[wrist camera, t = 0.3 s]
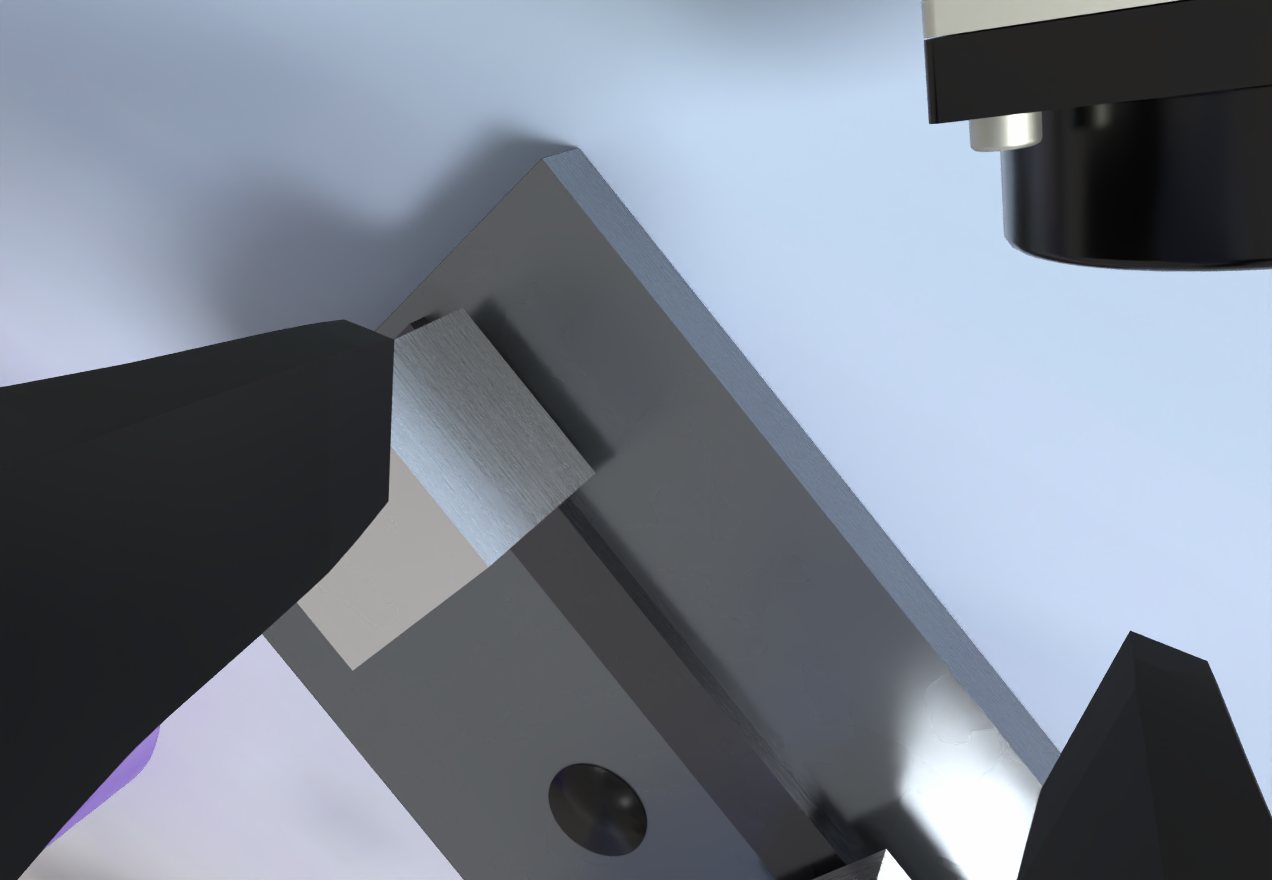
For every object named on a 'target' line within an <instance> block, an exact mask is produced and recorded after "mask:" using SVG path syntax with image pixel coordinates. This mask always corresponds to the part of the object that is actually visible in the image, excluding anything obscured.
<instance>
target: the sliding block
mask: <svg viewBox="0 0 1272 880" xmlns="http://www.w3.org/2000/svg"><path fill="white" fill-rule="evenodd" d="M812 880H911V879H910V878H909V877H908V875H907V874H906V873H905V872H904V870H903V869H902V868H901V867H900V865H899V864H898V863H897V862H896V860H895V859H894V858H893V857H892V855H891V854H890V853H889V852H888V850H887V849H885V850H882V851H880V852H878V853H875V854H873V855H870V856H868V857H865V858H863V859H861V860H858V861H856V862H853V863H851V864H849V865H846V866H844V867H841V868H839V869H836V870H834V871H832V872H829V873H827V874H824V875H822V876H820V877H817V878H815V879H812Z"/></svg>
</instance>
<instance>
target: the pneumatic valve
mask: <svg viewBox="0 0 1272 880" xmlns="http://www.w3.org/2000/svg"><path fill="white" fill-rule="evenodd" d="M921 4H922V20H923V36H924V38H930V37H935V38H931V39H927V40H924V52H925V68H926V85H927V101H928V117H929V124H938V123H947V122H956V121H964V120H969V130H970V146H971V148H972V149H973V150H974V151H977V152H995V151H1000V154H1001V178H1002V201H1003V225H1004V236H1005V238H1006V240H1007V241H1008V242H1009V243H1010V245H1011V246H1012V247H1013V248H1015V249H1017V250H1019V251H1021V252H1023V253H1025V254H1027V255H1029V256H1032V257H1035V258H1039V259H1043V260H1047V261H1051V262H1057V263H1062V264H1069V265H1076V266H1084V267H1094V268H1105V269H1118V270H1141V271H1244V270H1265V269H1272V0H921ZM937 36H939V37H937Z"/></svg>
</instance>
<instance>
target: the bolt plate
mask: <svg viewBox="0 0 1272 880" xmlns="http://www.w3.org/2000/svg"><path fill="white" fill-rule="evenodd" d="M375 332H377V333H379V334H382V335H384V336H387V337H389V338H392V339H394V365H393V393H392V421H391V448H390V476H389V502H388V503H387V504H386V505H385V506H384V508H383V509H382V510H381V511H380V513H379V514H378V515H377V516H376V518H375V519H374V520H373V521H372V523H371V524H370V525H369V526H368V528H367V529H366V530H365V531H364V533H363V534H362V535H361V536H360V537H359V539H358V540H357V541H356V542H355V543H354V545H353V546H352V547H351V548H350V549H349V550H348V551H347V553H346V554H345V555H344V556H343V557H342V558H341V559H340V561H339V562H338V563H337V564H336V565H335V566H334V567H333V569H332V570H331V571H330V572H329V573H328V574H327V575H326V576H325V577H324V578H323V579H322V580H321V581H319V582H318V583H317V584H316V585H315V586H314V587H313V588H312V589H311V590H310V591H309V592H308V593H307V594H305V595H304V596H303V597H302V598H301V599H300V600H299V601H298V602H297V603H295V604H294V605H293V606H292V607H291V608H290V609H289V610H288V611H287V612H286V613H284V614H283V615H282V616H281V617H280V618H279V619H278V620H277V621H276V622H275V623H273V624H272V625H271V626H270V627H269V628H268V629H267V630H266V631H264V632H263V633H262V634H263V635H264V637H265V638H266V639H267V640H268V642H269V643H270V644H271V645H272V646H273V648H274V649H275V650H276V651H277V653H278V654H279V655H280V656H281V657H282V659H283V660H284V661H285V662H286V663H287V665H288V666H289V667H290V668H291V670H292V671H293V672H294V673H295V674H296V676H297V677H298V678H299V679H300V681H301V682H302V683H303V684H304V685H305V687H306V688H307V689H308V690H309V692H310V693H311V694H312V695H313V696H314V698H315V699H316V700H317V701H318V703H319V704H320V705H321V706H322V707H323V709H324V710H325V711H326V712H327V713H328V715H329V716H330V717H331V718H332V720H333V721H334V722H335V723H336V724H337V726H338V727H339V728H340V729H341V731H342V732H343V733H344V734H345V735H346V737H347V738H348V739H349V740H350V742H351V743H352V744H353V745H354V746H355V748H356V749H357V750H358V751H359V753H360V754H361V755H362V756H363V757H364V759H365V760H366V761H367V762H368V764H369V765H370V766H371V767H372V768H373V770H374V771H375V772H376V773H377V774H378V776H379V777H380V778H381V779H382V781H383V782H384V783H385V784H386V785H387V787H388V788H389V789H390V790H391V792H392V793H393V794H394V795H395V796H396V798H397V799H398V800H399V801H400V803H401V804H402V805H403V806H404V807H405V809H406V810H407V811H408V812H409V814H410V815H411V816H412V817H413V818H414V820H415V821H416V822H417V823H418V824H419V826H420V827H421V828H422V829H423V831H424V832H425V833H426V834H427V835H428V837H429V838H430V839H431V840H432V842H433V843H434V844H435V845H436V846H437V848H438V849H439V850H440V851H441V853H442V854H443V855H444V856H445V857H446V859H447V860H448V861H449V862H450V864H451V865H452V866H453V867H454V868H455V870H456V871H457V872H458V873H459V874H460V876H461V877H462V878H463V879H464V880H812V879H815V878H817V877H820V876H822V875H824V874H827V873H829V872H832V871H834V870H836V869H839V868H841V867H844V866H846V865H849V864H851V863H853V862H856V861H858V860H861V859H863V858H865V857H868V856H870V855H873V854H875V853H878V852H880V851H882V850H885V849H887V850H888V852H889V853H890V854H891V855H892V857H893V858H894V859H895V860H896V862H897V863H898V864H899V865H900V867H901V868H902V869H903V870H904V872H905V873H906V874H907V875H908V877H909V878H910V879H911V880H1017V876H1018V872H1019V868H1020V865H1021V861H1022V857H1023V853H1024V849H1025V845H1026V841H1027V838H1028V834H1029V830H1030V827H1031V823H1032V819H1033V816H1034V812H1035V808H1036V804H1037V801H1038V797H1039V793H1040V790H1041V788H1042V787H1043V785H1044V783H1045V781H1046V779H1047V778H1048V776H1049V774H1050V772H1051V771H1052V769H1053V767H1054V765H1055V763H1056V762H1057V760H1058V758H1059V756H1060V755H1061V753H1060V752H1059V751H1058V750H1057V748H1056V747H1055V746H1054V745H1053V743H1052V742H1051V741H1050V740H1049V738H1048V737H1047V736H1046V734H1045V733H1044V732H1043V731H1042V729H1041V728H1040V727H1039V726H1038V724H1037V723H1036V722H1035V721H1034V719H1033V718H1032V717H1031V716H1030V714H1029V713H1028V712H1027V711H1026V709H1025V708H1024V707H1023V706H1022V704H1021V703H1020V702H1019V701H1018V699H1017V698H1016V697H1015V696H1014V694H1013V693H1012V692H1011V690H1010V689H1009V688H1008V687H1007V685H1006V684H1005V683H1004V682H1003V680H1002V679H1001V678H1000V677H999V675H998V674H997V673H996V672H995V670H994V669H993V668H992V667H991V665H990V664H989V663H988V662H987V660H986V659H985V658H984V657H983V655H982V654H981V653H980V652H979V650H978V649H977V648H976V647H975V645H974V644H973V643H972V641H971V640H970V639H969V638H968V636H967V635H966V634H965V633H964V631H963V630H962V629H961V628H960V626H959V625H958V624H957V623H956V621H955V620H954V619H953V618H952V616H951V615H950V614H949V613H948V611H947V610H946V609H945V608H944V606H943V605H942V604H941V603H940V601H939V600H938V599H937V597H936V596H935V595H934V594H933V592H932V591H931V590H930V589H929V587H928V586H927V585H926V584H925V582H924V581H923V580H922V579H921V577H920V576H919V575H918V574H917V572H916V571H915V570H914V569H913V567H912V566H911V565H910V564H909V562H908V561H907V560H906V559H905V557H904V556H903V555H902V553H901V552H900V551H899V550H898V548H897V547H896V546H895V545H894V543H893V542H892V541H891V540H890V538H889V537H888V536H887V535H886V533H885V532H884V531H883V530H882V528H881V527H880V526H879V525H878V523H877V522H876V521H875V520H874V518H873V517H872V516H871V515H870V513H869V512H868V511H867V509H866V508H865V507H864V506H863V504H862V503H861V502H860V501H859V499H858V498H857V497H856V496H855V494H854V493H853V492H852V491H851V489H850V488H849V487H848V486H847V484H846V483H845V482H844V481H843V479H842V478H841V477H840V476H839V474H838V473H837V472H836V471H835V469H834V468H833V467H832V465H831V464H830V463H829V462H828V460H827V459H826V458H825V457H824V455H823V454H822V453H821V452H820V450H819V449H818V448H817V447H816V445H815V444H814V443H813V442H812V440H811V439H810V438H809V437H808V435H807V434H806V433H805V432H804V430H803V429H802V428H801V427H800V425H799V424H798V423H797V421H796V420H795V419H794V418H793V416H792V415H791V414H790V413H789V411H788V410H787V409H786V408H785V406H784V405H783V404H782V403H781V401H780V400H779V399H778V398H777V396H776V395H775V394H774V393H773V391H772V390H771V389H770V388H769V386H768V385H767V384H766V383H765V381H764V380H763V379H762V377H761V376H760V375H759V374H758V372H757V371H756V370H755V369H754V367H753V366H752V365H751V364H750V362H749V361H748V360H747V359H746V357H745V356H744V355H743V354H742V352H741V351H740V350H739V349H738V347H737V346H736V345H735V344H734V342H733V341H732V340H731V339H730V337H729V336H728V335H727V333H726V332H725V331H724V330H723V328H722V327H721V326H720V325H719V323H718V322H717V321H716V320H715V318H714V317H713V316H712V315H711V313H710V312H709V311H708V310H707V308H706V307H705V306H704V305H703V303H702V302H701V301H700V300H699V298H698V297H697V296H696V295H695V293H694V292H693V291H692V290H691V288H690V287H689V286H688V284H687V283H686V282H685V281H684V279H683V278H682V277H681V276H680V274H679V273H678V272H677V271H676V269H675V268H674V267H673V266H672V264H671V263H670V262H669V261H668V259H667V258H666V257H665V256H664V254H663V253H662V252H661V251H660V249H659V248H658V247H657V246H656V244H655V243H654V242H653V240H652V239H651V238H650V237H649V235H648V234H647V233H646V232H645V230H644V229H643V228H642V227H641V225H640V224H639V223H638V222H637V220H636V219H635V218H634V217H633V215H632V214H631V213H630V212H629V210H628V209H627V208H626V207H625V205H624V204H623V203H622V202H621V200H620V199H619V198H618V196H617V195H616V194H615V193H614V191H613V190H612V189H611V188H610V186H609V185H608V184H607V183H606V181H605V180H604V179H603V178H602V176H601V175H600V174H599V173H598V171H597V170H596V169H595V168H594V166H593V165H592V164H591V163H590V161H589V160H588V159H587V158H586V156H585V155H584V154H583V152H582V151H581V150H580V149H579V148H577V149H573V150H570V151H566V152H562V153H559V154H555V155H552V156H548V157H545V158H542V159H541V160H540V161H539V162H538V163H537V164H536V165H535V166H534V167H533V168H532V169H531V170H530V171H529V172H528V173H527V174H526V175H525V176H524V177H523V179H522V180H521V181H520V182H519V183H518V184H517V185H516V186H515V187H514V188H513V189H512V190H511V191H510V192H509V193H508V194H507V195H506V196H505V197H504V198H503V199H502V200H501V201H500V202H499V203H498V204H497V205H496V206H495V208H494V209H493V210H492V211H491V212H490V213H489V214H488V215H487V216H486V217H485V218H484V219H483V220H482V221H481V222H480V223H479V224H478V225H477V226H476V227H475V228H474V229H473V230H472V231H471V232H470V233H469V234H468V236H467V237H466V238H465V239H464V240H463V241H462V242H461V243H460V244H459V245H458V246H457V247H456V248H455V249H454V250H453V251H452V252H451V253H450V254H449V255H448V256H447V257H446V258H445V259H444V260H443V261H442V262H441V263H440V265H439V266H438V267H437V268H436V269H435V270H434V271H433V272H432V273H431V274H430V275H429V276H428V277H427V278H426V279H425V280H424V281H423V282H422V283H421V284H420V285H419V286H418V287H417V288H416V289H415V290H414V291H413V293H412V294H411V295H410V296H409V297H408V298H407V299H406V300H405V301H404V302H403V303H402V304H401V305H400V306H399V307H398V308H397V309H396V310H395V311H394V312H393V313H392V314H391V315H390V316H389V317H388V318H387V319H386V320H385V322H384V323H383V324H382V325H381V326H380V327H379V328H378V329H377V330H376V331H375Z"/></svg>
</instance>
